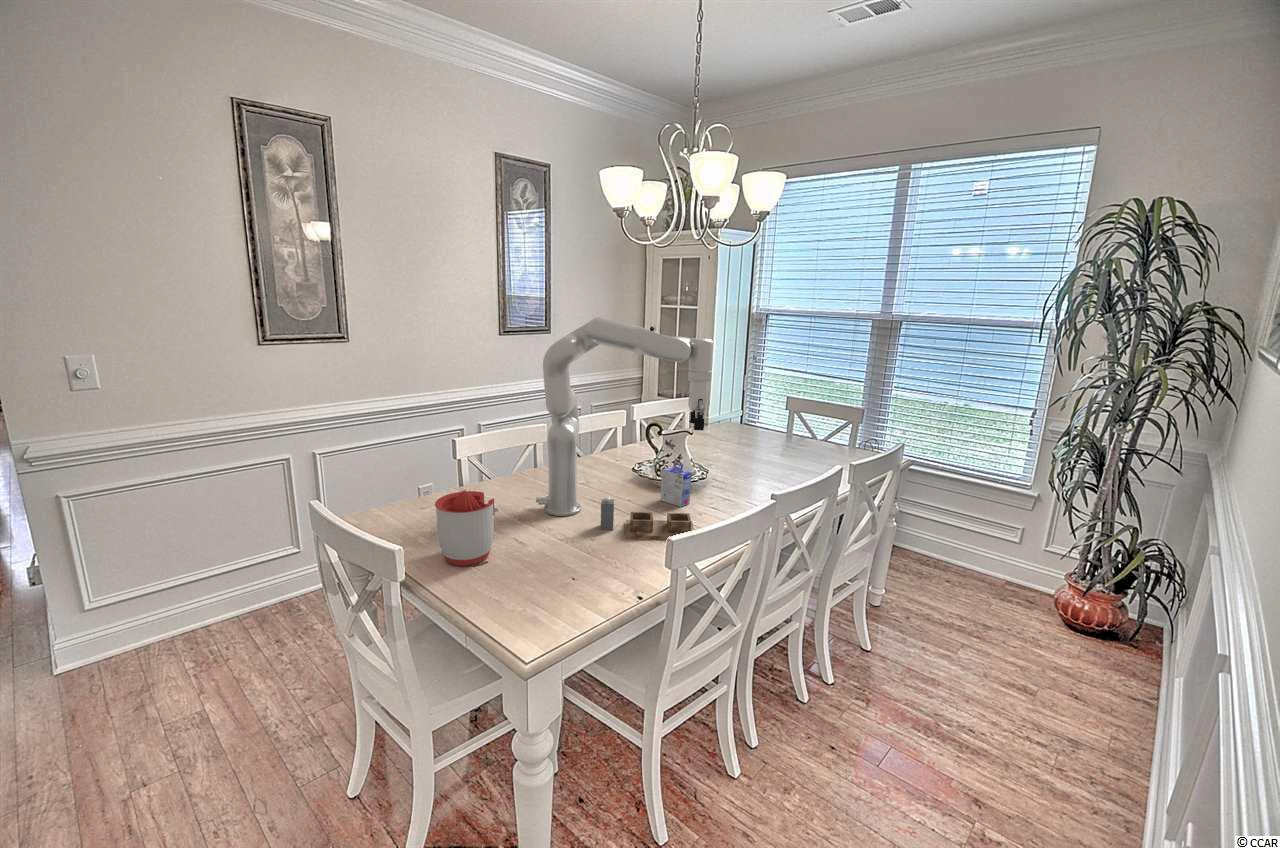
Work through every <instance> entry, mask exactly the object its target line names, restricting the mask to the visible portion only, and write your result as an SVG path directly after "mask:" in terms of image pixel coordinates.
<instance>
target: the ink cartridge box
mask: <svg viewBox="0 0 1280 848" xmlns="http://www.w3.org/2000/svg"><path fill="white" fill-rule="evenodd" d="M678 466H679V467H678ZM683 468H684V464H683V463H679V462H675V463H674V466H668V467H665V468H663V469H661V482H660V483H661V486H660V501H662V502H665V503H669V504H671V505H675V506H678V507H684V506H687V505H690V500H691V485H692V472H691V471H688V470H684V469H683Z"/></svg>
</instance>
